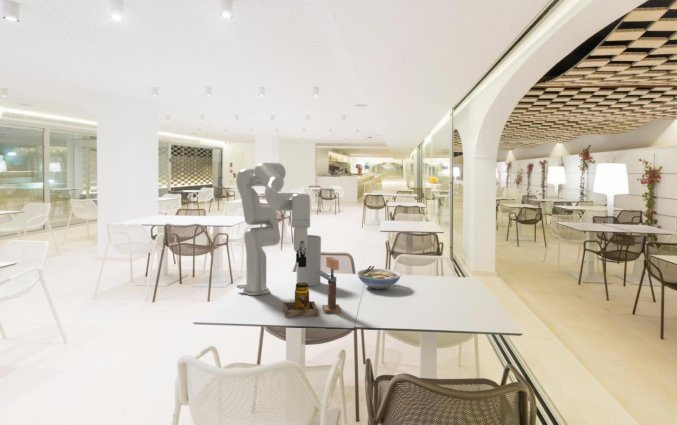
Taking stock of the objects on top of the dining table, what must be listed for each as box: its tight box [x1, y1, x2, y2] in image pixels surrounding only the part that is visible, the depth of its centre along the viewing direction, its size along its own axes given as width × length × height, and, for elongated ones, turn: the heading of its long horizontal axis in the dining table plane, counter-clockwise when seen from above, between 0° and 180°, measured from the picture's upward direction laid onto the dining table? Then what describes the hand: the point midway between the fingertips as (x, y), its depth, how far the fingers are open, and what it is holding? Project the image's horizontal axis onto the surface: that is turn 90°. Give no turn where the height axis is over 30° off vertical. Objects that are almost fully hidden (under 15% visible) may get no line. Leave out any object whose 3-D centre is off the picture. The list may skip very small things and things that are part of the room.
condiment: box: [290, 282, 310, 310], centre depth 181 cm, size 7×8×12 cm
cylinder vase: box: [296, 234, 322, 287], centre depth 227 cm, size 12×12×25 cm
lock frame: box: [282, 281, 342, 318], centre depth 182 cm, size 24×12×12 cm, turn 101°
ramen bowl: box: [356, 265, 402, 290], centre depth 223 cm, size 25×23×8 cm
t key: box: [314, 256, 340, 283], centre depth 189 cm, size 22×4×10 cm, turn 26°
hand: (301, 264), depth 179 cm, fingers open, 9 cm apart
